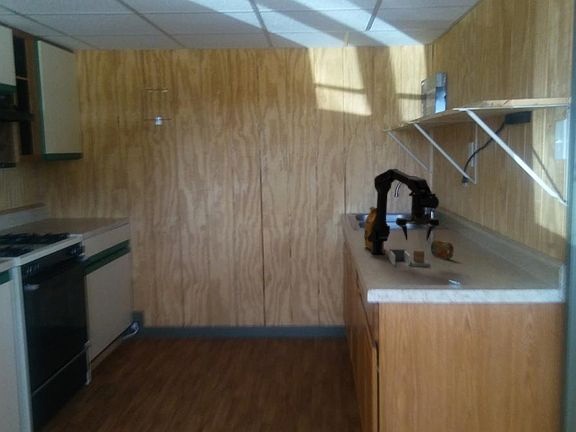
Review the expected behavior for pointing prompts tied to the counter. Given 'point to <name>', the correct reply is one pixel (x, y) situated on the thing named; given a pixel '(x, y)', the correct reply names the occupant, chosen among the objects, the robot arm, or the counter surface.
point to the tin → (442, 249)
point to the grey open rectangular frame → (399, 255)
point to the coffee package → (370, 226)
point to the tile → (419, 263)
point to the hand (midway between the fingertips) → (416, 240)
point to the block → (418, 255)
